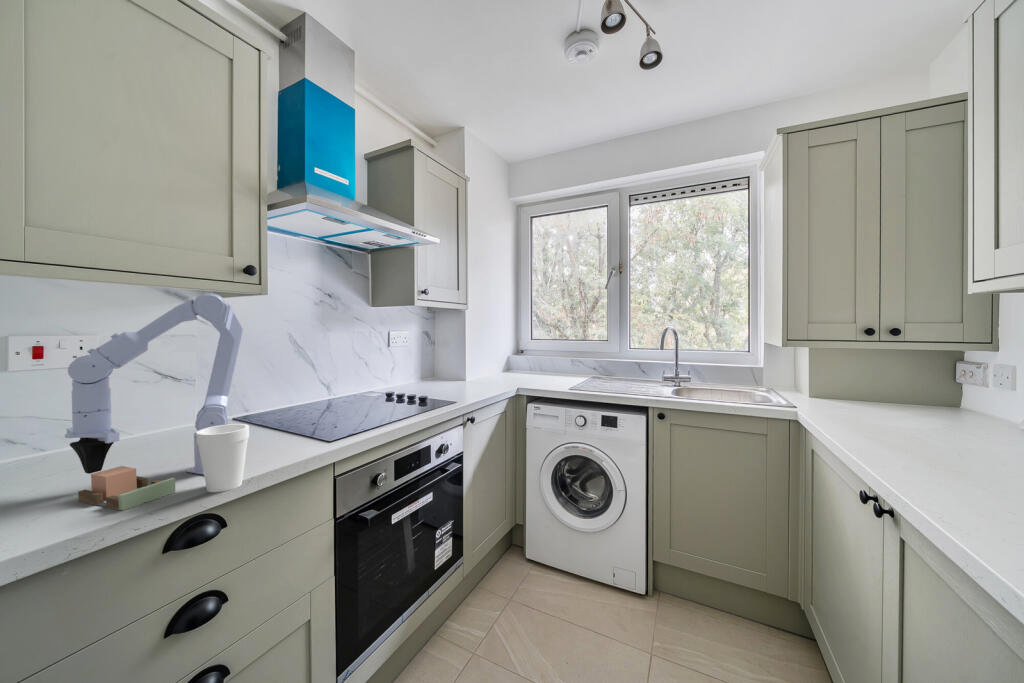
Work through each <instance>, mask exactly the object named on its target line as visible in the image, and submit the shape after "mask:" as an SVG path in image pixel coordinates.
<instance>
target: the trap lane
mask: <svg viewBox="0 0 1024 683" xmlns="http://www.w3.org/2000/svg"><path fill="white" fill-rule="evenodd" d="M136 478H137V489H136V490H133V491H130V492H127V493H123V494H120V495H119V497H118V496H113V495H112V496H109V497H106V500H105V502H104V500H103V493H99V492H94V491H92V490H88V489H82V490H79V491H77V492H78V494H77V496H78V502H81V503H85V504H89V505H95V506H99V507H102V508H108V509H112V510H116V509H117V510H116V511H120V510H124V511H126V510H125V509H127V510H129V509H131V508H130V507H132V508H134V507H133V506H135V507H137V506H136V505H138V506H140V505H139V504H141V505H143V504H145V503H144V502H146V503H148V501H149V502H152V501H154V499H155V500H157V498H158V499H160V498H163V497H166V496H168V494H169V495H171V493H172V494H174V492H175V493H176V478H175V477H171V478H167V479H164V480H160V479H155V480H151V481H150V483H151V484H149V478H148V477H143V476H139V475H138V476H137V475H136ZM165 495H166V496H165ZM162 496H163V497H162ZM151 500H152V501H151ZM142 503H143V504H142ZM128 508H129V509H128Z"/></svg>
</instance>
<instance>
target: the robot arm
mask: <svg viewBox="0 0 1024 683" xmlns="http://www.w3.org/2000/svg"><path fill="white" fill-rule="evenodd" d="M197 316H199V317H200V318H202V319H204V320H206V321H207V322H209V323H210V324H211V325H212V327H214V329H216V331H217V332H218V333H219V339H218V344H217V348H216V352H215V356H214V359H213V366H212V369H211V373H210V377H209V378H210V379H209V381H208V382H209V383H208V387H207V392H206V395H205V399H204V403H203V405H202V407H201V408H200V410H199V411H198V412H197V414H196V419H195V423H194V427H195V429H196V432H195V433H193V449H194V451H193V454H194V457H193V459H194V466H192V467H190V468H187V469H185V472H186V473H192V474H197V475H203V476H204V472H203V467H202V462H201V457H200V452H199V446H198V445H197V431H199V430H201V429H205V428H209V427H213V426H219V425H228V424H229V418H228V412H227V406H228V402H229V396H230V395H229V394H230V389H231V386H232V381H233V376H234V372H235V368H236V365H237V364H236V363H237V359H238V354H239V350H240V345H241V342H242V341H241V340H242V337H243V331H244V330H243V326H242V324H241V322H240V321H239V318H238V317H237V315H236V313H235V311H234V309H233V308H232V305H231V304H230V303H229V302H227V301H226V300H225V299H224V298H223V297H222V296H221V295H220V294H217V293H214V292H205V293H201V294H200V295H198V296H197V297H196V298H195V299H193V298H192V299H189V300H187V301H185V302H182V303H180V304H178V305H177V306H174V307H172V308H171V309H169V310H168V311H166V312H165V313H164V314H162V315H160V316H159V317H157V318H156V319H154V320H153V321H151V322H150V323H148V324H147V325H145V326H144V327H142V328H140V329H139V330H138V331H136V332H134V331H123V332H122V333H120V334H119V332H118V333H114V334H112V335H110V338H111V339H110V340H109V341H107V342H105V343H103V344H102V345H100V346H98V347H97V348H90V349H89V350H87V351H86V352H87V353H88V354H89V355H80V356H78V357H76V358H75V359H74V360H72V362H71V363H70V364H69V366H68V368H67V375H68V376H69V377H70V379H72V381H71V382H72V383H71V386H72V390H71V412H72V413H71V416H72V418H71V419H72V421H71V422H72V423H71V424H72V425H71V426H72V427H69V428H66V433H65V434H64V438H65V439H75V438H77V439H78V438H79V440H77V441H73V442H70V443H69V447H70V448H72V449H73V451H74V452H75V453H76V455H77V457H78V459H79V461H80V463H81V466H82V470H83V471H84V473H85V474H89V475H91V474H94V473H97V472H101V471H103V470H102V469H103V467H104V464H105V460H106V458H107V454H108V452H109V451H110V449H111V447H112V445H113V444H114V443H115V442H119V441H120V432H119V431H116V430H115V429H114V428H113V426H112V398H111V394H112V393H111V390H112V389H111V387H110V376H111V375H112V373H113V372H114V370H115V369H117V370H118V369H121V368H122V367H124V366H125V365H127V364H128V363H129V362H132V361H133V360H135V359H136V358H138V357H139V356H142V354H144V353H146V352H147V351H148V350H149V342H151V341H153V340H155V339H156V338H159V337H160V336H161V335H163V334H165V333H166V332H168V331H169V330H172V329H173V328H174V327H176V326H179V325H180V324H182V323H185V322H191V321H197V320H199V319H198V317H197Z"/></svg>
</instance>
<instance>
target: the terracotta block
mask: <svg viewBox="0 0 1024 683" xmlns="http://www.w3.org/2000/svg"><path fill="white" fill-rule="evenodd" d="M136 476H137V468H135V467H130V466H123V465H121V466H116V467H114V468H109V469H106V470H105V469H104V470H101V471H98V472H94V473H90V479H91V482H90V483H91V484H90V485H91V486H90V487H91V491H94V492H99V493H103V501H106V497H109V496H112V495H113V496H118V497H119V495H120V494H123V493H127V492H130V491H133V490H136V489H138V488H137V478H136Z"/></svg>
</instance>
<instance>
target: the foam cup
mask: <svg viewBox="0 0 1024 683" xmlns="http://www.w3.org/2000/svg"><path fill="white" fill-rule="evenodd" d="M196 432H197V445H198V446H199V452H200V457H201V462H202V467H203V472H204V475H203V476H204V482H205V487H206V491H207V492H208V491H209V492H208V493H221V492H226V491H231V490H234V489H236V488H238V487H240V486H241V485H242V484H243V478H244V473H245V472H244V471H245V463H246V456H247V449H248V443H249V441H248V440H249V438H250V426H249V425H248V424H246V423H230V424H229V423H228V425H219V426H213V427H209V428H205V429H201V430H199V431H197V430H196Z"/></svg>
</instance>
